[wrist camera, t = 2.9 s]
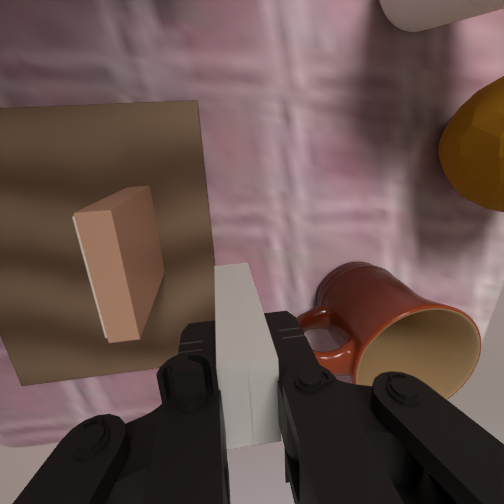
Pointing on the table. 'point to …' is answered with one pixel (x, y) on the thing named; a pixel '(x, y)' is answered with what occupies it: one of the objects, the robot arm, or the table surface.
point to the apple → (477, 148)
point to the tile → (122, 259)
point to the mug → (391, 330)
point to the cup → (434, 12)
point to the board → (66, 241)
